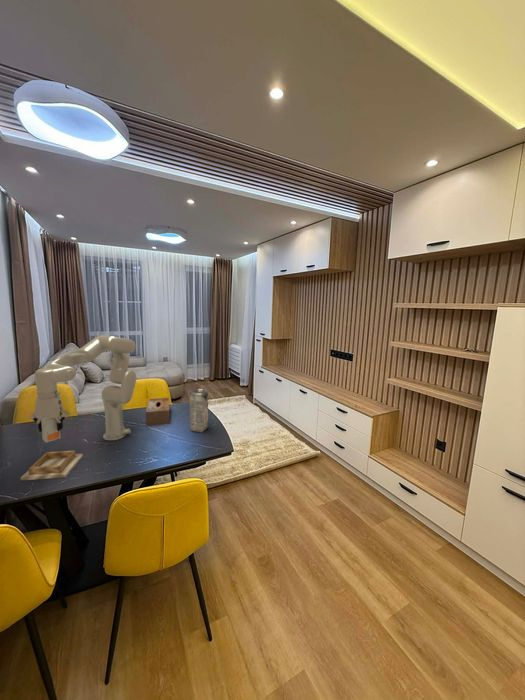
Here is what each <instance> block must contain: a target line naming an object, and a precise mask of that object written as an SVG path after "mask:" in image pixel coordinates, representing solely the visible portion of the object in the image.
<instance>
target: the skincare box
mask: <svg viewBox="0 0 525 700" xmlns="http://www.w3.org/2000/svg"><path fill="white" fill-rule="evenodd" d="M57 423H58V422H57V420H56V419H55V418H42V419H41V427H42V431H41V434H42V436H41V437H42V441H44V442H45V443H49V442H52V441H56V440H59V439H61V430H60V431H57Z"/></svg>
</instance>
